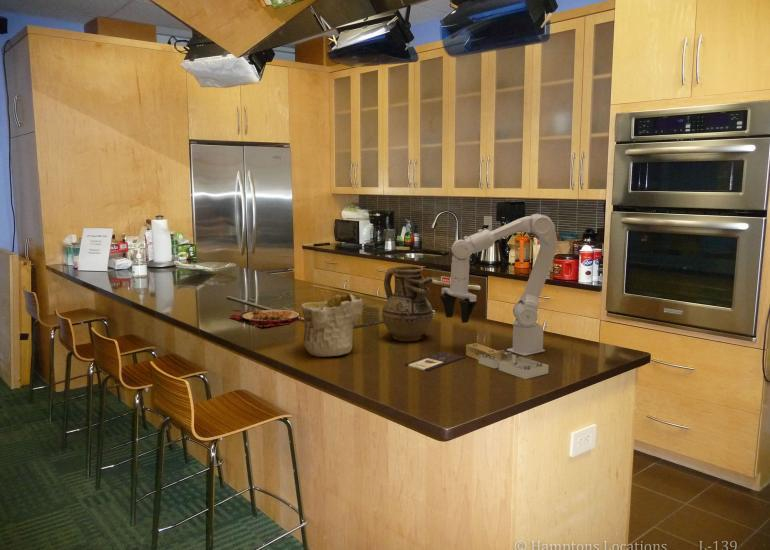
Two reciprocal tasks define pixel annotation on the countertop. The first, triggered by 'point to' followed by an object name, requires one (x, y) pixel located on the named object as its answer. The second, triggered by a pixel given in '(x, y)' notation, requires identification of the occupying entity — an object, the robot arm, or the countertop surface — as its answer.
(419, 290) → the decorative pitcher
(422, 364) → the chocolate bar
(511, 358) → the chain end
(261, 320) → the plate with food
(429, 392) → the countertop surface
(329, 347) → the ceramic vessel
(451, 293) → the robot arm
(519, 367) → the chain end
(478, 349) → the riveted link plate
